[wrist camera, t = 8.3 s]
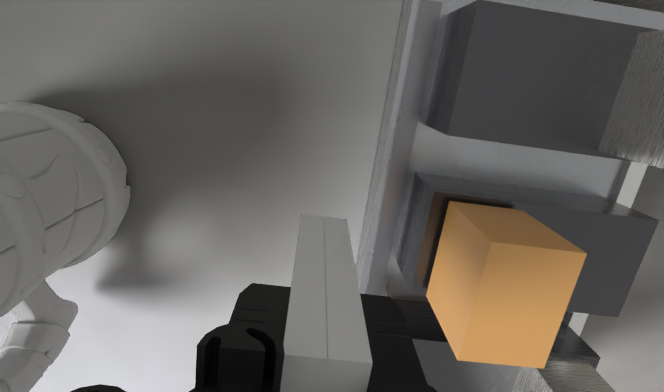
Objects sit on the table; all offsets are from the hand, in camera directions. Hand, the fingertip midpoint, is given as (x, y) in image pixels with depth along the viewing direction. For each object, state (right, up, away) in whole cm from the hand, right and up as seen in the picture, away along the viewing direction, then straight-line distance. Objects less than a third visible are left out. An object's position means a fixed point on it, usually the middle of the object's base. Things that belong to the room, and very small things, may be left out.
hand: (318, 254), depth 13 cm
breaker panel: (+8, +1, +7) cm, 11 cm away
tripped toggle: (+6, 0, +2) cm, 6 cm away
